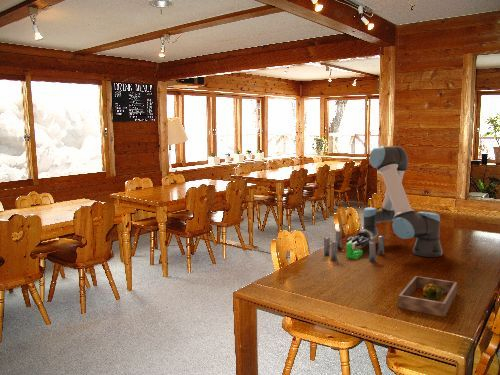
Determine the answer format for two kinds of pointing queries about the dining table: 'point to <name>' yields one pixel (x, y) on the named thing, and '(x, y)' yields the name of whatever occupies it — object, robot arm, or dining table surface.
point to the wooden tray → (424, 304)
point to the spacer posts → (337, 244)
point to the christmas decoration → (432, 292)
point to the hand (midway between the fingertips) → (349, 246)
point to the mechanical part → (353, 251)
